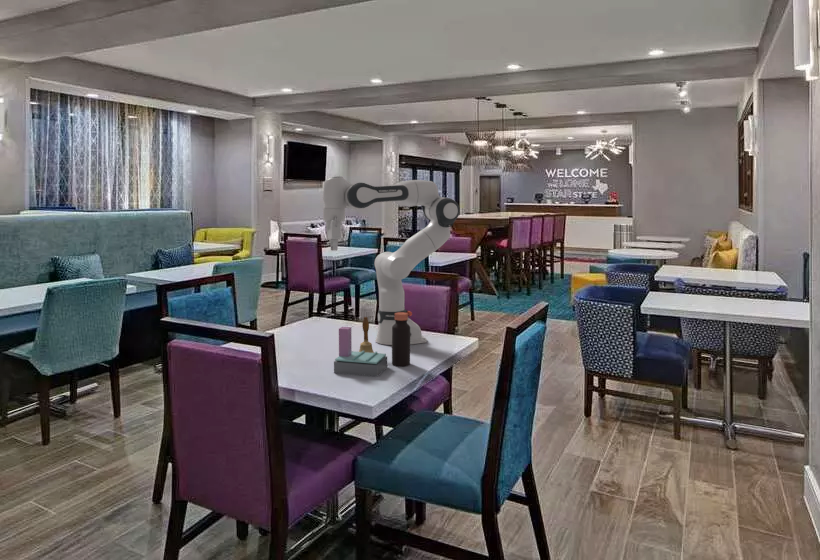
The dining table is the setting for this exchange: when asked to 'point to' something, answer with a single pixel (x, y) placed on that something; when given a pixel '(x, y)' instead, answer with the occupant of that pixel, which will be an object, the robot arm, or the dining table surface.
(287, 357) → the dining table surface
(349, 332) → the lid
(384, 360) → the tray
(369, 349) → the hand bell
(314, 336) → the dining table surface
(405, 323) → the bottle
